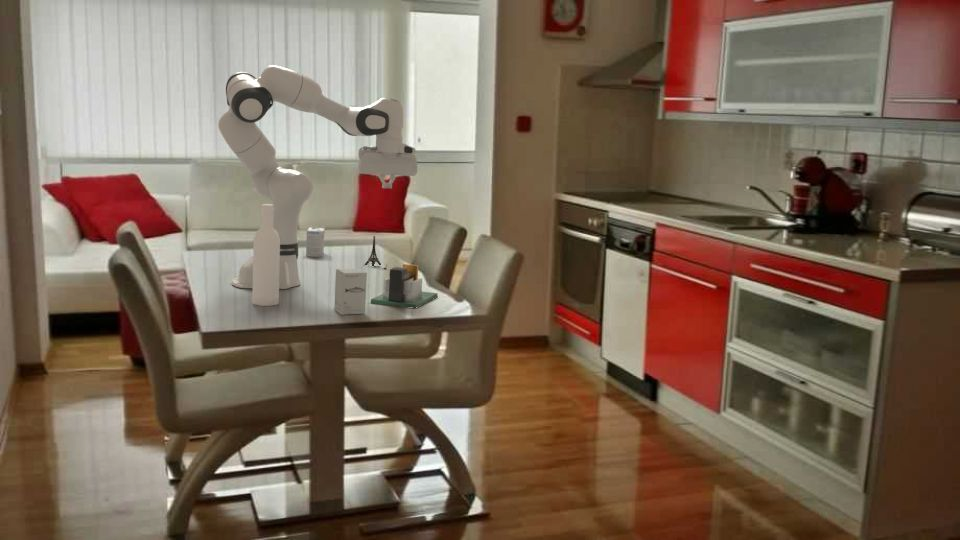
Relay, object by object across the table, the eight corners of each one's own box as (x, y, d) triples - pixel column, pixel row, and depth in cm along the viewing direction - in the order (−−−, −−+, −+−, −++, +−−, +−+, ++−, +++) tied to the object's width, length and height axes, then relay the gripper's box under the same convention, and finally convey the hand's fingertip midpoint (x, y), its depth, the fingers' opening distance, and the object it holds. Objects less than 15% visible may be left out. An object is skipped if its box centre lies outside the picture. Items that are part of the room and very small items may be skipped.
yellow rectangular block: (402, 287, 283) (404, 263, 281) (417, 289, 281) (418, 265, 280) (390, 293, 272) (391, 268, 271) (405, 295, 271) (406, 270, 269)
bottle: (254, 306, 255) (256, 205, 250) (249, 301, 262) (251, 202, 257) (281, 305, 258) (283, 206, 253) (276, 300, 265) (278, 203, 260)
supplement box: (341, 315, 251) (343, 272, 249) (333, 310, 257) (335, 268, 255) (365, 314, 254) (367, 272, 252) (357, 309, 261) (358, 268, 259)
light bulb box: (307, 252, 363) (308, 226, 361) (324, 253, 363) (324, 227, 362) (305, 256, 352) (306, 230, 350) (322, 257, 353) (323, 230, 351)
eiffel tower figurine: (386, 270, 333) (388, 236, 331) (360, 269, 332) (361, 235, 330) (387, 264, 348) (388, 231, 345) (362, 263, 347) (363, 230, 344)
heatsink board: (395, 291, 290) (396, 259, 289) (437, 296, 286) (439, 263, 285) (370, 302, 270) (372, 267, 269) (415, 308, 267) (417, 272, 265)
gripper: (361, 146, 283) (359, 188, 285) (419, 149, 291) (417, 190, 294) (356, 145, 289) (354, 186, 291) (413, 148, 297) (411, 188, 299)
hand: (386, 188), depth 292 cm, fingers closed
